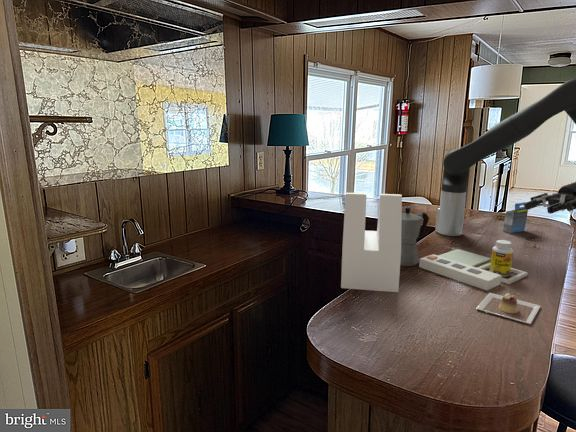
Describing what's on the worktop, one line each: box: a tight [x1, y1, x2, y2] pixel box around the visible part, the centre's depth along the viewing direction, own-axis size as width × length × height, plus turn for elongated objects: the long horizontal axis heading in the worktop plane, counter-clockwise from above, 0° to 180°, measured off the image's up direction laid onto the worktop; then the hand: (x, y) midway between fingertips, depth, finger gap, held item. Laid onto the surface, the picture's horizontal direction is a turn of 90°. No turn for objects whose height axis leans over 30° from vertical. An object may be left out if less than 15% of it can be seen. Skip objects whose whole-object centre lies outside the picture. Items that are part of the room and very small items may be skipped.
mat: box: [438, 248, 491, 267], centre depth 138 cm, size 12×12×1 cm
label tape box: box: [502, 201, 529, 234], centre depth 168 cm, size 9×4×12 cm, turn 118°
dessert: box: [475, 291, 542, 325], centre depth 102 cm, size 12×12×5 cm
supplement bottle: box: [488, 239, 514, 278], centre depth 123 cm, size 6×6×10 cm
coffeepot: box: [400, 207, 430, 267], centre depth 134 cm, size 15×9×18 cm, turn 115°
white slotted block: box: [340, 192, 403, 293], centre depth 120 cm, size 19×15×25 cm
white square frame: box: [477, 261, 528, 285], centre depth 125 cm, size 11×11×1 cm
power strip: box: [418, 253, 501, 291], centre depth 124 cm, size 22×10×3 cm, turn 37°
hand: (536, 208), depth 125 cm, fingers open, 8 cm apart
